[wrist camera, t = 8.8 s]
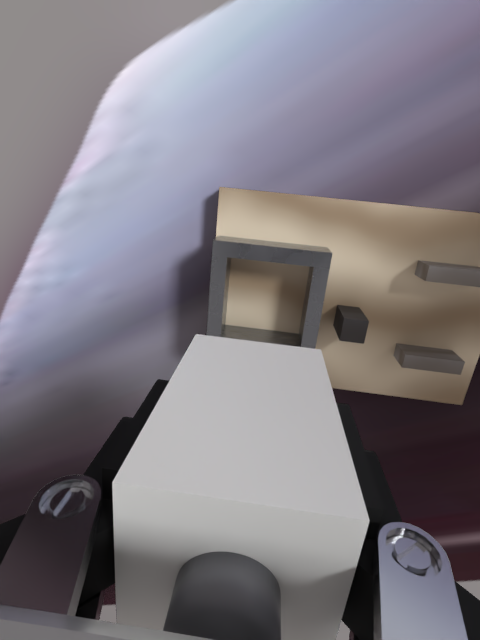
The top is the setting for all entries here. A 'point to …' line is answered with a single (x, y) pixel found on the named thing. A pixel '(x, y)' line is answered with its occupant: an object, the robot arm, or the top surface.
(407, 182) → the top surface
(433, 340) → the board
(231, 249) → the frame
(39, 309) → the top surface
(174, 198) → the top surface
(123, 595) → the plug
